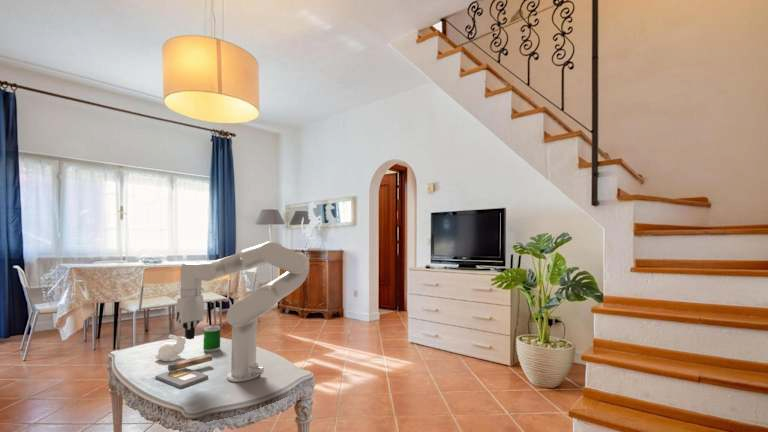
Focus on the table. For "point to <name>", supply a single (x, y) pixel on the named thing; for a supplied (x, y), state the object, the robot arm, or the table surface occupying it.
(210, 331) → the soda can
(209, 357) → the swing bar
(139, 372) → the table surface
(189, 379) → the label board
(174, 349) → the rabbit
